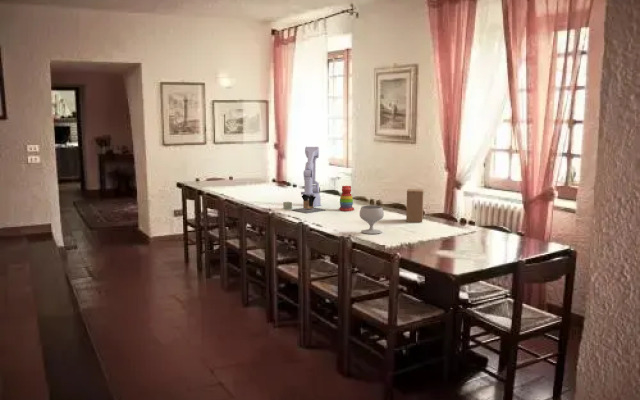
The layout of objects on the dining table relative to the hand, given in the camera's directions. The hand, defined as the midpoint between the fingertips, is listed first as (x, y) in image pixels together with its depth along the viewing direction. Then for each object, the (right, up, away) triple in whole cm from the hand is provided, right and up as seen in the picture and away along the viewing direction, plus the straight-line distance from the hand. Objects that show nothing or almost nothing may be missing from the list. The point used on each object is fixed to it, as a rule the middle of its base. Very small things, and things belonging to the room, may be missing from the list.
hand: (308, 205), depth 400 cm
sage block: (-15, -3, +7) cm, 17 cm away
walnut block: (0, -2, 0) cm, 2 cm away
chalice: (+38, -15, -73) cm, 84 cm away
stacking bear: (+27, -4, +1) cm, 27 cm away
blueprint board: (0, -3, +1) cm, 3 cm away
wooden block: (+69, -10, -39) cm, 80 cm away
